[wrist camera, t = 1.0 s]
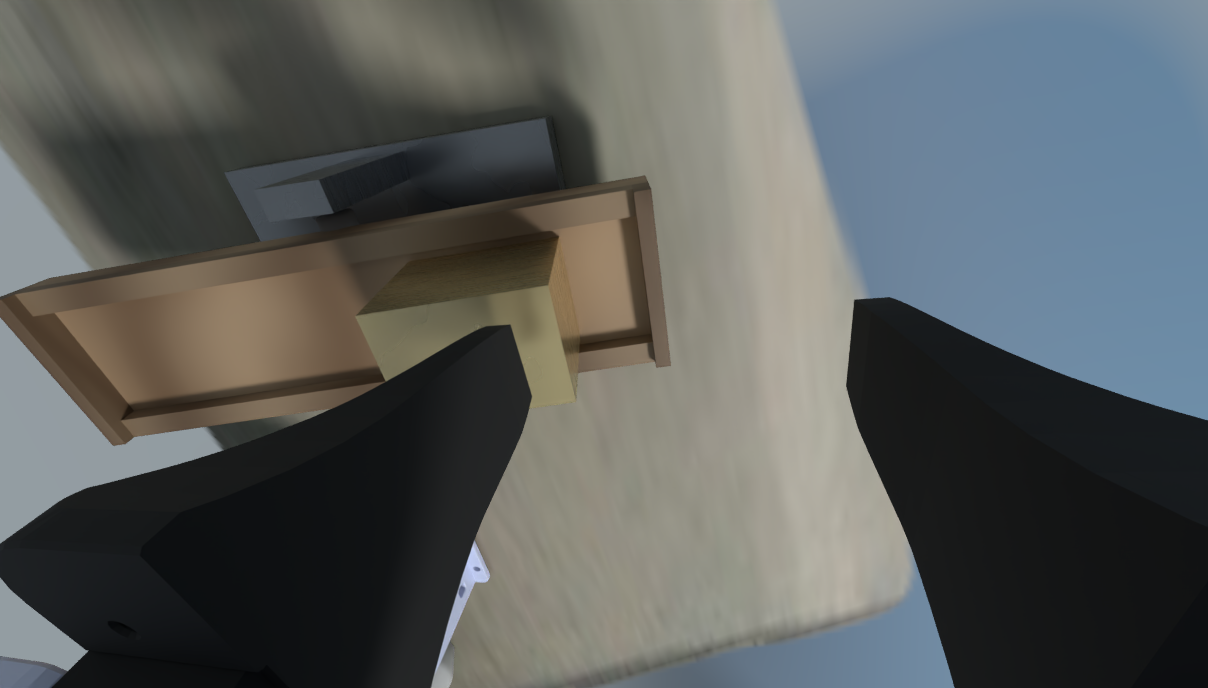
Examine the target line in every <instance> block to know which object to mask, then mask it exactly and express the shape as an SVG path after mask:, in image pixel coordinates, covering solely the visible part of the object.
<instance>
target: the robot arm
mask: <svg viewBox="0 0 1208 688" xmlns="http://www.w3.org/2000/svg"><path fill="white" fill-rule="evenodd" d="M846 387H847V391H848V395H849V398H850V402H851V406H852V409H853V413H854V416H855V420H856V423H857V426H858V429H859V432H860V434H861V436H862V438H863V441H864V443H865V445H866V447H867V450H868V452H869V454H870V456H871V459H872V461H873V463H874V465H875V468H876V470H877V472H878V474H879V476H880V478H881V481H882V483H883V485H884V487H885V489H886V492H887V494H888V496H889V498H890V500H891V503H892V505H893V507H894V509H895V511H896V514H897V516H898V518H899V520H900V522H901V525H902V527H903V529H904V532H905V534H906V537H907V539H908V542H909V544H910V547H911V549H912V552H913V555H914V558H915V561H916V564H917V567H918V570H919V573H920V576H921V579H922V583H923V586H924V589H925V592H926V595H927V598H928V601H929V604H930V607H931V610H932V614H933V617H934V620H935V624H936V627H937V630H938V633H939V637H940V640H941V643H942V646H943V650H944V653H945V656H946V660H947V663H948V666H949V669H950V673H951V676H952V680H953V684H954V687H955V688H1208V420H1204V419H1201V418H1197V417H1193V416H1190V415H1186V414H1183V413H1179V412H1176V411H1172V410H1168V409H1165V408H1162V407H1159V406H1155V405H1152V404H1149V403H1146V402H1142V401H1139V400H1136V399H1132V398H1129V397H1126V396H1123V395H1120V394H1118V393H1115V392H1112V391H1109V390H1106V389H1103V388H1100V387H1097V386H1094V385H1091V384H1088V383H1085V382H1082V381H1079V380H1077V379H1074V378H1071V377H1068V376H1066V375H1063V374H1060V373H1058V372H1055V371H1053V370H1050V369H1047V368H1045V367H1043V366H1040V365H1038V364H1035V363H1033V362H1030V361H1028V360H1026V359H1023V358H1021V357H1019V356H1016V355H1014V354H1011V353H1009V352H1007V351H1004V350H1002V349H1000V348H998V347H995V346H993V345H991V344H989V343H986V342H985V341H982V340H980V339H978V338H976V337H974V336H972V335H970V334H967V333H965V332H963V331H961V330H959V329H957V328H955V327H953V326H951V325H949V324H946V323H945V322H943V321H941V320H939V319H937V318H935V317H932V316H930V315H928V314H927V313H924V312H922V311H920V310H918V309H916V308H914V307H912V306H910V305H908V304H906V303H903V302H901V301H898V300H896V299H893V298H890V297H887V298H873V299H859V300H854V310H853V320H852V331H851V342H850V352H849V363H848V373H847V384H846ZM531 400H532V394H531V391H530V387H529V384H528V381H527V377H526V374H525V371H524V367H523V364H522V361H521V357H520V354H519V351H518V348H517V344H516V341H515V338H514V334H513V331H512V328H511V324H509V325H495V326H485V327H483V328H480V329H478V330H476V331H474V332H472V333H470V334H468V335H466V336H464V337H462V338H461V339H459V340H457V341H455V342H454V343H452V344H450V345H448V346H447V347H445V348H443V349H442V350H440V351H438V352H437V353H435V354H433V355H432V356H430V357H428V358H426V359H425V360H423V361H421V362H420V363H418V364H416V365H415V366H413V367H411V368H409V369H408V370H406V371H404V372H402V373H400V374H399V375H397V376H395V377H393V378H391V379H389V380H388V381H386V382H384V383H382V384H380V385H379V386H377V387H375V388H373V389H371V390H369V391H368V392H366V393H364V394H362V395H360V396H358V397H356V398H354V399H352V400H350V401H348V402H345V403H343V404H341V405H339V406H337V407H335V408H332V409H330V410H328V411H326V412H324V413H321V414H319V415H317V416H315V417H312V418H310V419H307V420H305V421H302V422H300V423H297V424H295V425H292V426H289V427H287V428H284V429H282V430H279V431H277V432H274V433H271V434H269V435H266V436H264V437H261V438H259V439H256V440H253V441H250V442H247V443H244V444H241V445H238V446H235V447H232V448H230V449H227V450H224V451H220V452H217V453H214V454H211V455H208V456H205V457H201V458H198V459H195V460H192V461H188V462H185V463H181V464H178V465H174V466H171V467H167V468H163V469H160V470H156V471H152V472H149V473H144V474H141V475H137V476H133V477H129V478H125V479H122V480H118V481H114V482H110V483H106V484H102V485H98V486H93V487H89V488H86V489H84V490H81V491H79V492H77V493H75V494H73V495H70V496H68V497H66V498H64V499H63V500H61V501H59V502H58V503H56V504H55V505H54V506H52V507H51V508H49V509H48V510H47V511H45V512H44V513H42V514H41V515H40V516H38V517H37V518H35V519H34V520H33V521H31V522H30V523H28V524H27V525H26V526H24V527H23V528H21V529H20V530H19V531H17V532H16V533H14V534H13V535H12V536H10V537H9V538H7V539H6V540H5V541H3V542H2V543H1V544H0V578H1V579H2V580H3V581H4V582H5V584H6V585H7V586H8V587H9V588H10V589H11V590H12V591H13V592H14V593H15V594H16V595H17V596H18V597H20V598H21V599H22V600H23V601H24V602H25V603H26V604H28V605H29V606H30V607H32V608H33V609H34V610H35V611H37V612H38V613H39V614H41V615H42V616H43V617H45V618H46V619H47V620H48V621H49V622H51V623H52V624H54V625H55V626H56V627H57V628H58V629H60V630H61V631H62V632H64V633H65V634H66V635H68V636H69V637H70V638H71V639H73V640H74V641H75V642H76V643H78V644H79V645H80V646H82V647H83V648H84V649H85V650H89V651H88V652H87V653H86V654H85V655H84V656H83V657H82V658H81V659H80V660H79V661H78V662H77V663H76V664H75V665H74V666H73V667H72V668H71V669H70V670H69V671H68V672H67V671H66V670H64V669H61V668H59V667H57V666H55V665H51V664H48V663H44V662H37V661H30V660H23V659H16V658H9V657H2V656H0V688H431V686H432V682H433V678H434V674H435V673H436V671H437V669H438V667H439V665H440V663H441V660H442V658H443V656H444V653H445V651H446V649H447V646H448V644H449V642H450V639H451V637H452V635H453V632H454V630H455V628H456V625H457V623H458V621H459V618H460V616H461V614H462V611H463V609H464V607H465V604H466V602H467V600H468V597H469V595H470V593H471V590H472V588H473V586H474V583H475V582H487V581H488V579H489V577H490V574H489V571H488V569H487V567H486V565H485V562H484V560H483V558H482V556H481V553H480V551H479V549H478V547H477V544H476V542H475V537H476V534H477V532H478V529H479V527H480V524H481V522H482V520H483V517H484V515H485V512H486V510H487V508H488V506H489V504H490V502H491V500H492V497H493V495H494V493H495V491H496V489H497V487H498V484H499V482H500V480H501V478H502V476H503V474H504V472H505V469H506V467H507V465H508V463H509V461H510V459H511V456H512V454H513V452H514V450H515V448H516V445H517V443H518V441H519V439H520V436H521V434H522V431H523V428H524V425H525V421H526V418H527V415H528V411H529V407H530V403H531Z"/></svg>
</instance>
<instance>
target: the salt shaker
mask: <svg viewBox="0 0 1208 688" xmlns="http://www.w3.org/2000/svg"><path fill="white" fill-rule="evenodd" d="M453 667H454V646H453V645H452V643H451V642H449V644H448V646H447V649H446V651H445V653H444V656H443V658H442V660H441V663H440V665H439V667H438V669H437V671H436V673H435V674H434V678H433V682H432V686H431V688H449V686H450V684H451V681H452V678H453Z"/></svg>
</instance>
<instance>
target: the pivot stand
mask: <svg viewBox="0 0 1208 688" xmlns="http://www.w3.org/2000/svg"><path fill="white" fill-rule="evenodd" d="M224 174H225V175H226V177H227V179H228V181H229V183H230V185H231V187H232V189H233V190H234V192H235V194H236V196H237V198H238V200H239V202H240V204H241V205H242V207H243V209H244V211H245V213H246V215H247V217H248V219H249V220H250V222H251V224H252V226H253V228H254V230H255V232H256V234H257V236H258V237H259V239H260V241H261V242H262V241H268V240H274V239H280V238H285V237H291V236H297V235H303V234H309V233H314V232H320V228H319V226H318V224H317V222H316V220H315V219H316V218H317V217H319V216H321V215H325V214H332V213H335V212H338V211H340V210H344V209H353V211H354V214H355V216H356V218H357V221H358V223H359V225H361V224H367V223H373V222H378V221H384V220H390V219H396V218H402V217H407V216H413V215H419V214H425V213H431V212H436V211H442V210H448V209H454V208H460V207H466V206H471V205H477V204H483V203H489V202H495V201H500V200H506V199H512V198H518V197H524V196H529V195H535V194H541V193H547V192H553V191H559V190H564V189H566V187H565V182H564V177H563V172H562V167H561V162H560V157H559V152H558V147H557V142H556V136H555V131H554V126H553V121H552V116H546V117H541V118H535V119H529V120H523V121H517V122H511V123H505V124H499V125H493V126H488V127H482V128H476V129H470V130H464V131H458V132H452V133H446V134H440V135H434V136H429V137H423V138H417V139H411V140H405V141H399V142H393V143H387V144H381V145H376V146H370V147H364V148H358V149H352V150H346V151H340V152H334V153H328V154H323V155H317V156H311V157H305V158H299V159H293V160H287V161H281V162H275V163H269V164H264V165H258V166H252V167H246V168H240V169H236V170H232V171H228V172H224Z"/></svg>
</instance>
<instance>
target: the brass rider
mask: <svg viewBox="0 0 1208 688" xmlns="http://www.w3.org/2000/svg"><path fill="white" fill-rule="evenodd" d="M355 317H356V319H357V321H358V323H359V325H360V328H361V330H362V332H363V334H364V336H365V338H366V340H367V343H368V345H369V347H370V349H371V351H372V353H373V355H374V357H375V360H376V362H377V364H378V366H379V368H380V370H381V372H382V374H383V377H384V379H385V381H388V380H389V379H391V378H393V377H395V376H397V375H399V374H400V373H402V372H404V371H406V370H408V369H409V368H411V367H413V366H415V365H416V364H418V363H420V362H421V361H423V360H425V359H426V358H428V357H430V356H432V355H433V354H435V353H437V352H438V351H440V350H442V349H443V348H445V347H447V346H448V345H450V344H452V343H454V342H455V341H457V340H459V339H461V338H462V337H464V336H466V335H468V334H470V333H472V332H474V331H476V330H478V329H480V328H483V327H485V326H495V325H509V324H511V328H512V331H513V334H514V338H515V341H516V344H517V348H518V351H519V354H520V357H521V361H522V364H523V367H524V371H525V374H526V377H527V381H528V384H529V387H530V391H531V394H532V400H531V403H530V407H529V409H530V408H537V407H544V406H551V405H558V404H566V403H573V402H576V394H577V379H578V363H579V348H580V330H579V326H578V321H577V316H576V312H575V307H574V302H573V298H572V293H571V288H570V284H569V279H568V275H567V270H566V265H565V261H564V256H563V251H562V247H561V242H560V237H553V238H547V239H541V240H535V241H529V242H522V243H516V244H510V245H504V246H498V247H492V248H486V249H480V250H474V251H468V252H462V253H456V254H450V255H444V256H438V257H432V258H426V259H420V260H414V261H409V262H408V263H407V264H406V265H405V266H404V267H403V268H402V269H401V270H400V271H399V272H398V273H397V274H396V275H395V276H394V277H393V278H392V279H391V280H390V281H389V282H388V283H387V284H386V285H385V286H384V287H383V288H382V289H381V290H380V291H379V292H378V293H377V294H376V295H375V296H374V297H373V298H372V299H371V300H370V301H369V302H368V303H367V304H366V305H365V306H364V307H363V308H362V309H361V310H360V311H359V312H358V314H357V315H356V316H355Z"/></svg>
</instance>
